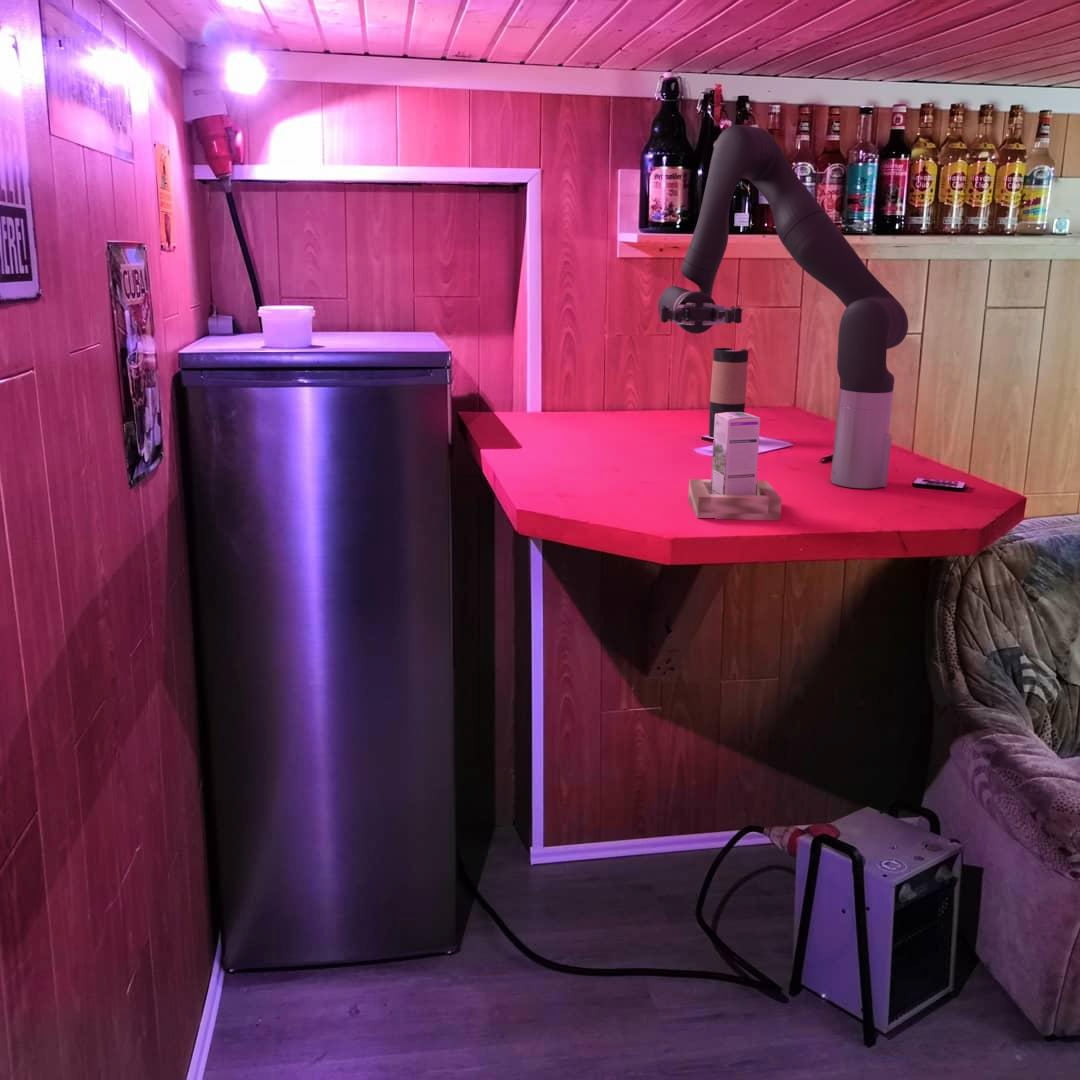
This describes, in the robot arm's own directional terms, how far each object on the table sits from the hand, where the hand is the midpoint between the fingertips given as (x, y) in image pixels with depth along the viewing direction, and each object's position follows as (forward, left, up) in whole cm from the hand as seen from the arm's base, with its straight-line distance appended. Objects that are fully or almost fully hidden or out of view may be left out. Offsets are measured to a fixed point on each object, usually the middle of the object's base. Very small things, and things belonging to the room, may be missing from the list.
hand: (705, 316), depth 181 cm
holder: (-4, +18, -30) cm, 35 cm away
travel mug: (-12, -46, -30) cm, 56 cm away
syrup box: (-4, +18, -29) cm, 34 cm away
